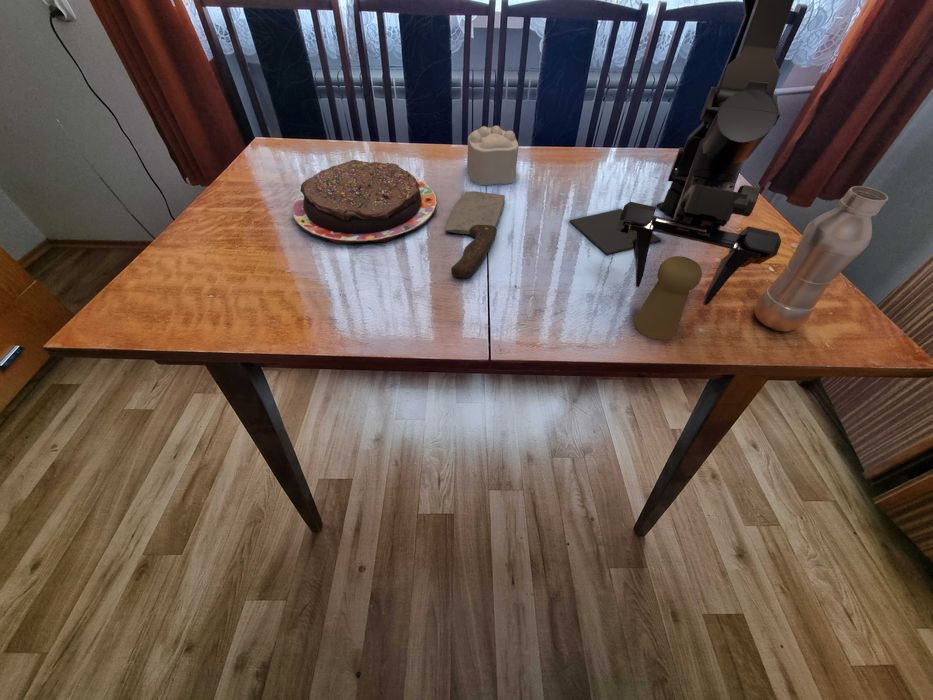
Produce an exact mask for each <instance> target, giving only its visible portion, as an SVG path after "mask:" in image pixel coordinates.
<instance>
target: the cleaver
mask: <svg viewBox="0 0 933 700" xmlns="http://www.w3.org/2000/svg"><path fill="white" fill-rule="evenodd" d="M505 198H506V197H505V194H500V193H490V192H484V191H476V190H475V191H474V190H473V191H465V192H464V193H463V194H462V195H461V197H459V199H458V201H457V202H456V203H455V204H454V206H453V208H452V210H451V212H450V213H449V216H448V219H447V222H446V226H445V229H444V232H449V233H454V234H461V235H469V236H470V237H472V238H474V239H473V240H471V242H469V243H468V244H467V245H466V246H465V247H464V249H463V252H462V256H461V258H460V259H459V260H458V261H457V262H456V263H455V264H454V265H453V266H452V267H451V269H450V271H451V273H450V274H452V276H454V277H457V278H461V279H469V278H470V277H471V276H472V275H473V274H474V273H475V272H476V270H477V269H478V268H479V266H480V265H481V263H483V261H484V259H485V257H486V256H487V254H488V252H489V251H490V250H491V247H492V245H493V243H494V241H495V239H496V235H497V231H498V229H497V226H498V223H499V220H500V218H501V216H502V214H503V213H502V212H503V209H504V207H505V201H506V200H505Z"/></svg>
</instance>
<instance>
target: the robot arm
mask: <svg viewBox="0 0 933 700" xmlns="http://www.w3.org/2000/svg"><path fill="white" fill-rule="evenodd" d="M794 2H795V0H742V6H743V8H742V9H743V18H742V22H741V24H740V26H739V29H738V32H737V34H736V36H735V39H734V42H733V44H732V47H731V50H730V52H729V55H728V57H727V60H726V62H725V65H724V67H723V70H722V72H721V75H720V77H719V80H718V83H717V85H716V86H711V87H710V89H709V91H708V94H707V97H706V99H705V101H704V105H703V108H702V110H701V113H700V118H699V119H700V121H701V122H702V123H701V124H699V125H698V126H697V127H696V128H695V129H694V130H693V131H692V132H691V133H690V134H689V135H688V136H687V139H686V141H685V143H684V145H683V147H679V148H678V151H677V153H676V155H675V158H674V159H673V163H672V165H671V168H670V171H669V174H668V178H667V182H671V184H670V186H669V188H668V190H667V192H666V194H665V197H664V200H663V201H662V202H657V203H656V206H653V205H648V204H643V203H639V202H634V201H628V202H627V203H625V205H624V206H623V208H622V210H623V211H622V214H621V217H620V220H619V224H618V228H617V231H618V232H620V233H623V234H627V237H626V240H628V241H631V242H633V248H632V249H633V254H634V261H635V262H634V263H635V264H634V265H635V268H634V269H635V273H634V274H635V287H636V288H639V287H640V285H641V283H642V280H643V277H644V274H645V269H646V263H647V260H648V254H649V250H650V245H651V244H650V242H651V238H652V234H654V233H659V234H663V235H668V236H672V237H677V238H682V239H685V240H690V241H694V242H695V241H696V242H699V243H702V244H703V243H704V244H708V245H711V246H712V245H713V246H717V247H722V248H726V249H728V253H727V254H726V255H725V256H724V257H722V258H720V262H718V266H717V268H716V270H715V272H714V274H713V276H712V279H711V281H710V283H709V286H708V288H707V289H706V293H705V296H704V299H703V302H702V305H703V306H708V305H709V304H710V303H711V302H712V301H713V299H714V298H715V296H716V295H717V294H718V293H719V291H720V290H721V289H722V287H724V285H725V284H726V283H727V282H728V280H729V279H730V278H731V277H732V275H734V273H735V272H737V271H738V269H739V268H746V267H748V266H749V265H751V264H752V265H761V264H762V263H764V262H766V261H768V260H770V259H772V258H774V257H776V256H778V252H779V250H780V247H781V244H782V238H781V236H780V234H779V232H777V231H772V230H768V229H762V228H757V227H753V226H746V227H745V228H744V229H743V230H742V231H741V232H739V233H735V232H731V231H726V230H722V229H721V227H725V226H726V225H727V224H728V222H730V220H731V218H732V215H737V216H742V217H747V218H748V217H750V216H751V215H752V213H753V210H754V208H755V206H756V204H757V202H758V198H759V195H760V193H761V189H762V187H757V186H752V185H746V184H744V185H740V186H739V188H738V190H737V191H735V187H736V184H737V181H738V178H739V176H740V173H741V169H742V167H743V164H744V162H745V161H746V160H747V159H749V157H751V155H752V154H753V153H754V151H755V150H756V149H757V148H758V146H760V144H761V143H762V141H763V140H764V139H765V138H766V136H767V135H768V134H769V133H770V132H771V130H773V128H774V127H775V126H776V124H777V122H778V120H779V118H780V117H781V114H780V110H779V104H778V95H777V94H775V91H776V88H777V85H778V80H779V78H780V75H781V72H780V69H779V67H778V64H777V63H776V60H775V57H776V54H777V52H778V51H777V50H778V48H779V44H780V42H781V39H782V36H783V34H784V31H785V27H786V26H787V25H786V24H787V22H788V20H789V16H790V13H791V11H792V8H793V5H794ZM657 208H658V209H659V210H661V211H663V212H664V213H665V214H668V216H669V217H671V218H672V219H670V218H668V217H667V218H665V217H662V216H657V215H655V214H656V210H657Z"/></svg>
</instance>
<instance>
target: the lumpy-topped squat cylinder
mask: <svg viewBox="0 0 933 700" xmlns="http://www.w3.org/2000/svg"><path fill="white" fill-rule="evenodd" d="M518 155H519V141H518V140H517V137H516V134H515V132H514V131H512V130H507V131H506V130H503V129H502V128H501V127H500V126H499V125H493V126H491V127H488V126H486V125H483V126H481V127H480V128H478V129H476V130H473V131H472V132H471V133H470V134H469V135H468V137H467V161H466V162H467V163H466V164H467V166H466V167H467V169H466V170H467V175H468V177H469V179H470V180H471V181H472V182H473V183H474V184H476V185H479V186H491V185H509V184H512V183H514V182H515V180H516V173H517V164H518Z"/></svg>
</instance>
